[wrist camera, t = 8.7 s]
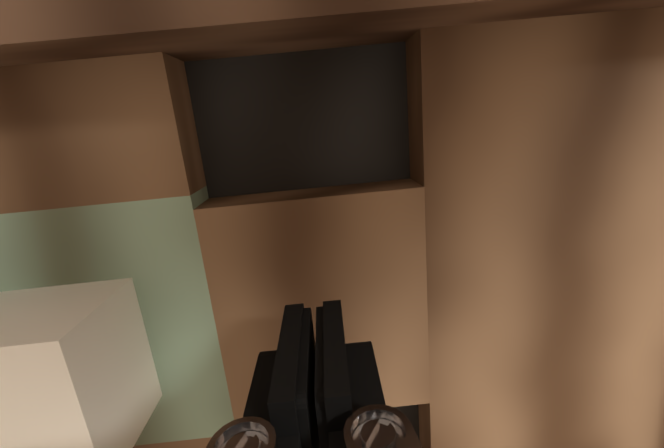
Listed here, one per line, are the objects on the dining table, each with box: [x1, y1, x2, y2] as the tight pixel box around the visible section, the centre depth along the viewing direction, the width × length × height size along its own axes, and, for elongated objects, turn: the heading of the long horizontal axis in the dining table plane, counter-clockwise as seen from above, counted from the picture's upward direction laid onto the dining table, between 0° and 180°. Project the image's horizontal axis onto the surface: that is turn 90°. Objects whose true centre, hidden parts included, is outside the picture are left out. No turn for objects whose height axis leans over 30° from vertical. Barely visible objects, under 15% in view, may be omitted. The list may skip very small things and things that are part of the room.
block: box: [0, 278, 162, 448], centre depth 12 cm, size 5×5×4 cm
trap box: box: [0, 0, 664, 448], centre depth 14 cm, size 30×21×5 cm
